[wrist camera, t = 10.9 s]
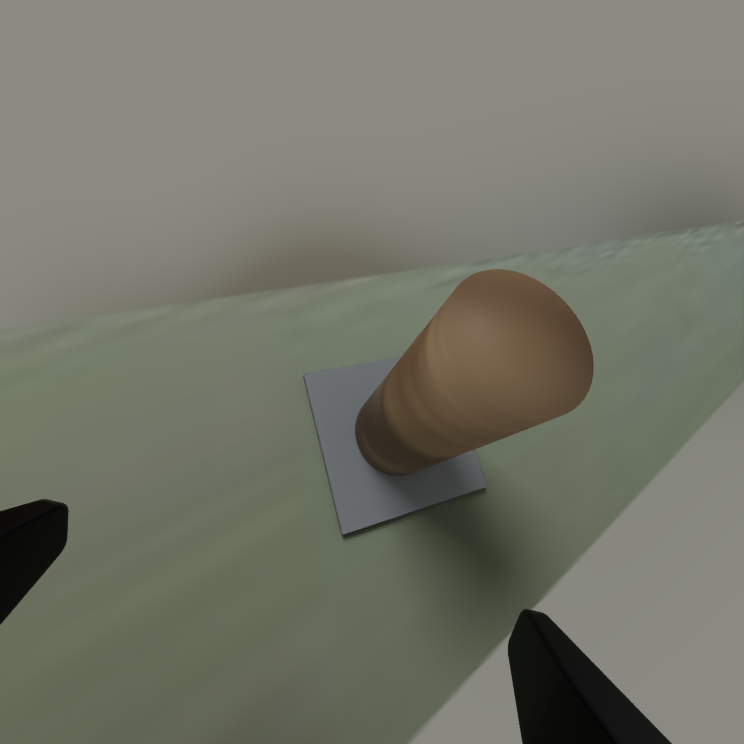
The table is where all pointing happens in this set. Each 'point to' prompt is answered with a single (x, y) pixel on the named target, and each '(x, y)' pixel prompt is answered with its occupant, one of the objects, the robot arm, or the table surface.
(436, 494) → the slate mat
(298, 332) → the table surface
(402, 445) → the walnut cylinder
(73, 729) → the table surface
